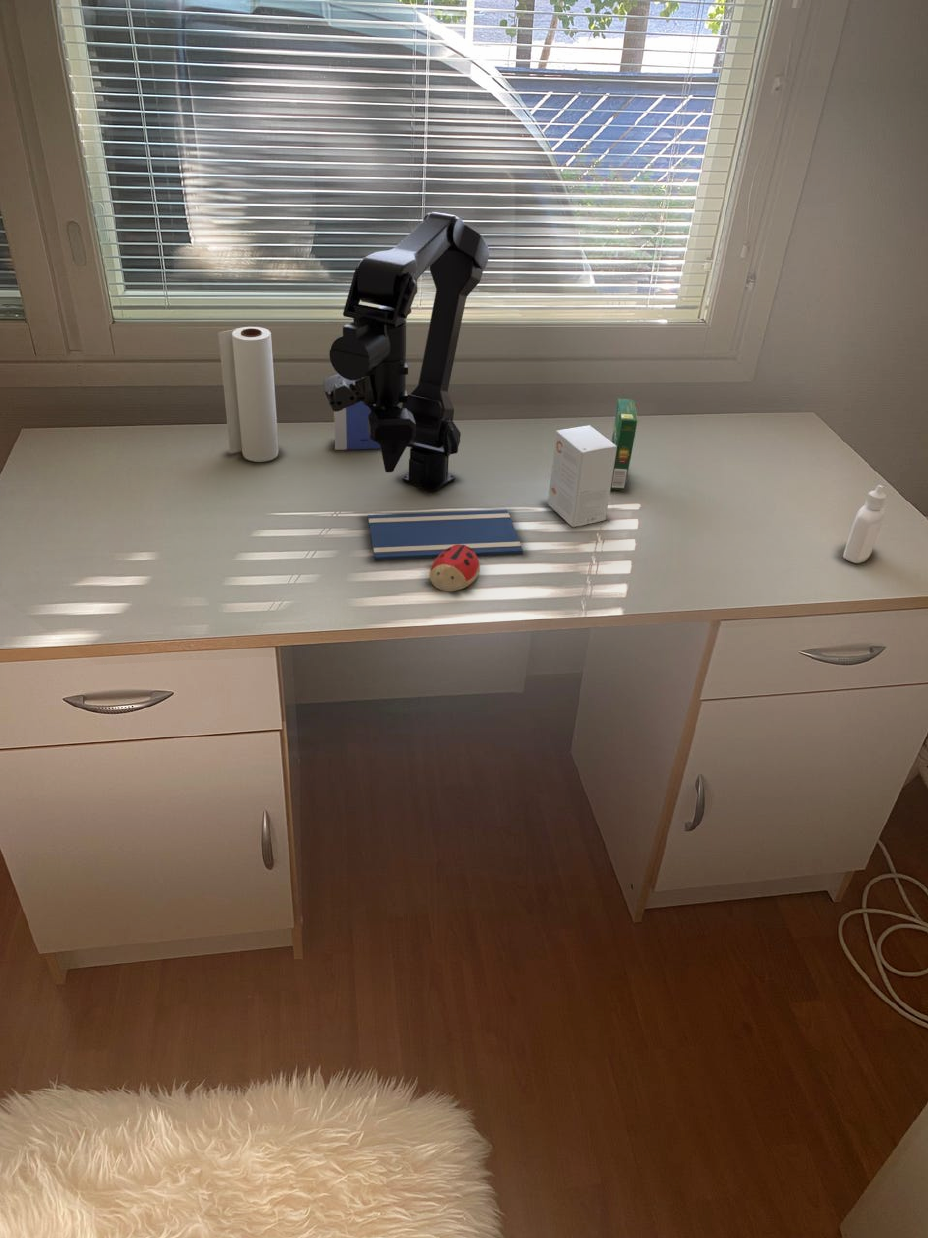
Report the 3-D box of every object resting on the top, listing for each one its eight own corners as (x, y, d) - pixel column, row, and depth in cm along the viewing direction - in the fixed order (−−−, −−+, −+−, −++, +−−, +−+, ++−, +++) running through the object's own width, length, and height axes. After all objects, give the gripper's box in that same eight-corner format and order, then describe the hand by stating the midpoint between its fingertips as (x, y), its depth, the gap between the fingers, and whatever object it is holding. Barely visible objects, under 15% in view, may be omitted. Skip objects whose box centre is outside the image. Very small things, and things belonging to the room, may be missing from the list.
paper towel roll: (286, 453, 166) (278, 330, 153) (262, 466, 162) (252, 341, 149) (254, 441, 169) (244, 320, 156) (230, 454, 165) (217, 330, 152)
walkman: (378, 441, 172) (378, 376, 164) (380, 448, 169) (380, 383, 162) (334, 442, 170) (332, 377, 163) (334, 449, 168) (333, 384, 161)
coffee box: (626, 492, 161) (638, 419, 154) (608, 491, 161) (620, 417, 154) (623, 469, 168) (635, 398, 160) (606, 468, 168) (617, 397, 160)
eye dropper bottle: (880, 560, 148) (906, 491, 141) (850, 565, 146) (874, 495, 139) (862, 545, 151) (886, 477, 144) (832, 550, 150) (855, 481, 143)
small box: (606, 521, 153) (618, 446, 146) (571, 528, 151) (582, 452, 143) (579, 497, 159) (590, 423, 151) (546, 504, 157) (554, 429, 149)
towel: (374, 560, 141) (374, 556, 140) (367, 518, 150) (367, 514, 150) (522, 554, 144) (523, 550, 144) (506, 513, 154) (507, 509, 153)
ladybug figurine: (421, 588, 135) (421, 567, 133) (443, 553, 143) (444, 532, 141) (466, 599, 134) (468, 577, 132) (487, 562, 142) (488, 542, 140)
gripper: (320, 330, 139) (324, 430, 148) (331, 383, 124) (335, 491, 133) (398, 328, 141) (397, 427, 150) (417, 380, 126) (415, 486, 135)
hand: (385, 456), depth 142 cm, fingers open, 9 cm apart
